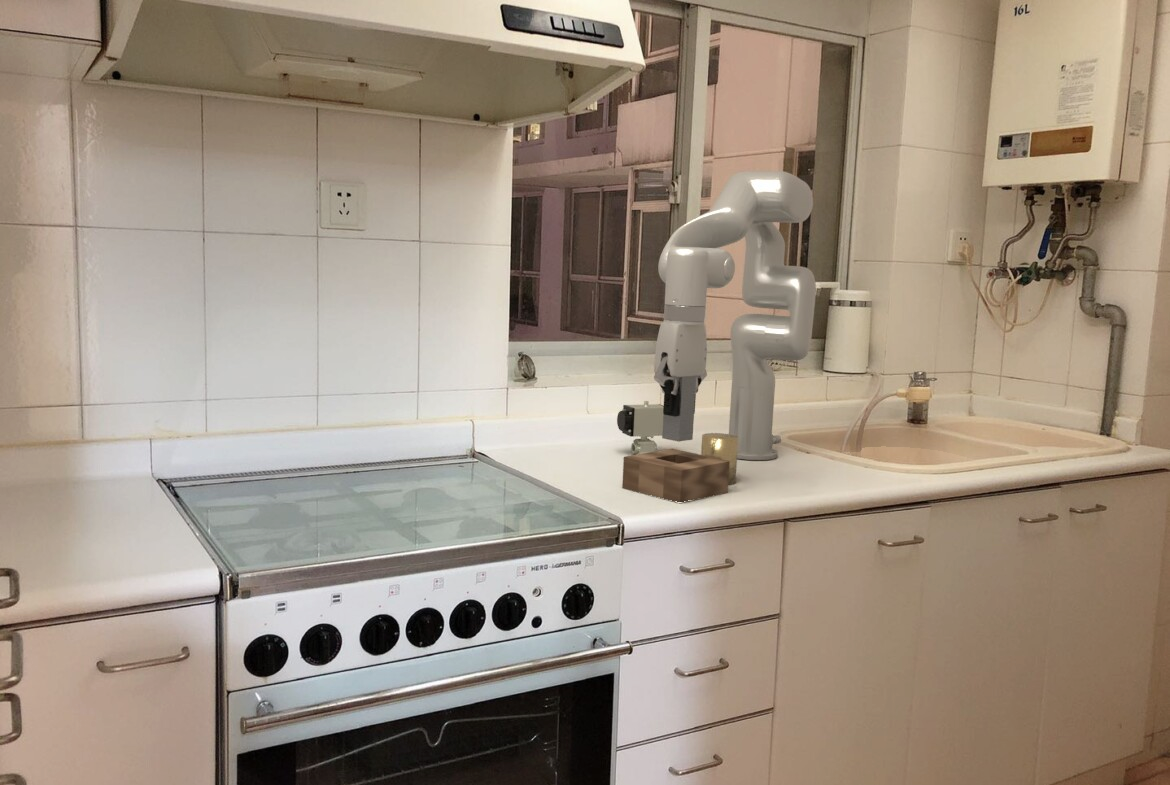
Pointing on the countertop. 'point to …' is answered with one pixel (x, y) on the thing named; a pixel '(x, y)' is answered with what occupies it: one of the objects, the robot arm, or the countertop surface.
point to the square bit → (682, 412)
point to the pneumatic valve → (641, 425)
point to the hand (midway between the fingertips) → (678, 413)
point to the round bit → (722, 450)
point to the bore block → (675, 475)
